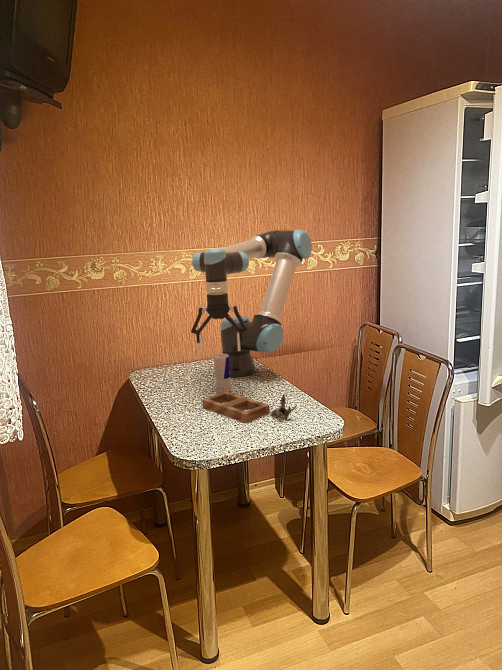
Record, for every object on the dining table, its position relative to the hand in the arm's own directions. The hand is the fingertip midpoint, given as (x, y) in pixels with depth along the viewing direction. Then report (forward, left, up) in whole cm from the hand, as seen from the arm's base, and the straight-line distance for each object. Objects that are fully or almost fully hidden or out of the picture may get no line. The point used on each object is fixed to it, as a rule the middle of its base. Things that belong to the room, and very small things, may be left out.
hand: (220, 350), depth 202 cm
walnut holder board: (+8, +16, -17) cm, 25 cm away
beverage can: (0, 0, -17) cm, 17 cm away
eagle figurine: (+2, +32, -17) cm, 36 cm away
